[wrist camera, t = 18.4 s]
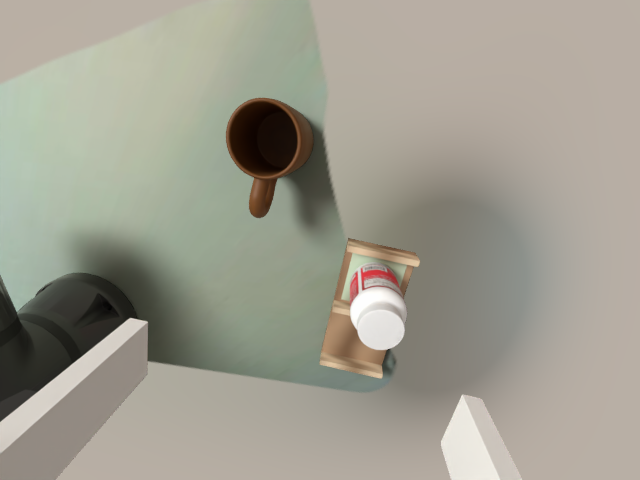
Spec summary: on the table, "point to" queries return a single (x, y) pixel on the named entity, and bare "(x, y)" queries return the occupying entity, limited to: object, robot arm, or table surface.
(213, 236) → the table surface
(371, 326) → the pill bottle
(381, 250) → the notch board
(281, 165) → the mug
